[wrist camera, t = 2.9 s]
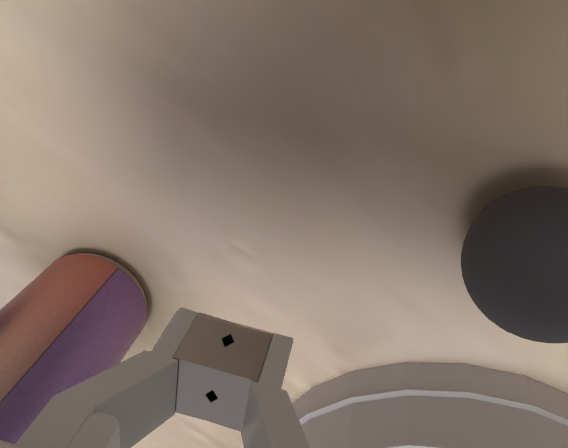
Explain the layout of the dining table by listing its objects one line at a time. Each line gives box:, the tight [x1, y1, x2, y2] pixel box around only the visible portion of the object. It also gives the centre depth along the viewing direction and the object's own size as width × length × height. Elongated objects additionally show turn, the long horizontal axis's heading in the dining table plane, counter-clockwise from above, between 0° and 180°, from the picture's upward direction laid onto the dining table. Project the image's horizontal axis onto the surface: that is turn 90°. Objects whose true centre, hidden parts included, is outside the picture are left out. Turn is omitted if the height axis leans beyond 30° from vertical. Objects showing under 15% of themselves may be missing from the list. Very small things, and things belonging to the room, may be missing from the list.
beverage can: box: [0, 253, 147, 444], centre depth 19 cm, size 6×6×15 cm
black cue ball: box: [461, 186, 568, 343], centre depth 16 cm, size 6×6×6 cm
